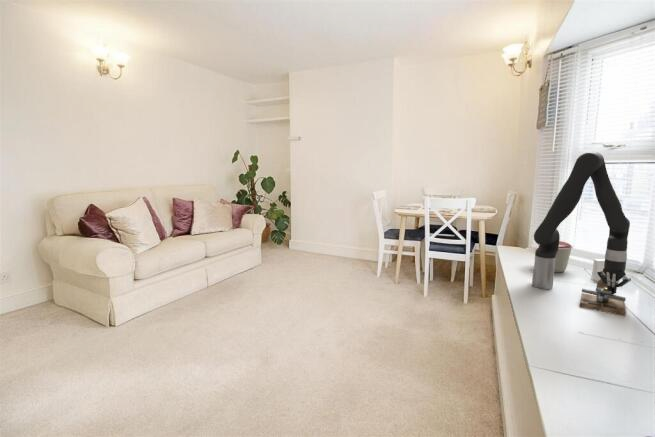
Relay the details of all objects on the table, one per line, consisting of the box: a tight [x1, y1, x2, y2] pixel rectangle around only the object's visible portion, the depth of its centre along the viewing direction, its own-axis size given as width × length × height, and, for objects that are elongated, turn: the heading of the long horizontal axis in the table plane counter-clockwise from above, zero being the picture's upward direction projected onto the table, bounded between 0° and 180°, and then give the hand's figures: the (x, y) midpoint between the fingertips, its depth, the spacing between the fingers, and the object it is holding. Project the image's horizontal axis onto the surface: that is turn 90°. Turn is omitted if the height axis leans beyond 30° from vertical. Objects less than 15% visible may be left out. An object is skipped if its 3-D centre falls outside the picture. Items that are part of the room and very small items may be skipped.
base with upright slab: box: [591, 258, 606, 283], centre depth 182 cm, size 9×9×12 cm
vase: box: [596, 279, 608, 288], centre depth 165 cm, size 7×7×9 cm
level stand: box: [579, 292, 627, 317], centre depth 151 cm, size 16×14×3 cm
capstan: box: [581, 287, 627, 303], centre depth 151 cm, size 17×16×6 cm
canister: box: [537, 240, 574, 273], centre depth 200 cm, size 18×18×21 cm
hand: (611, 293), depth 152 cm, fingers closed
